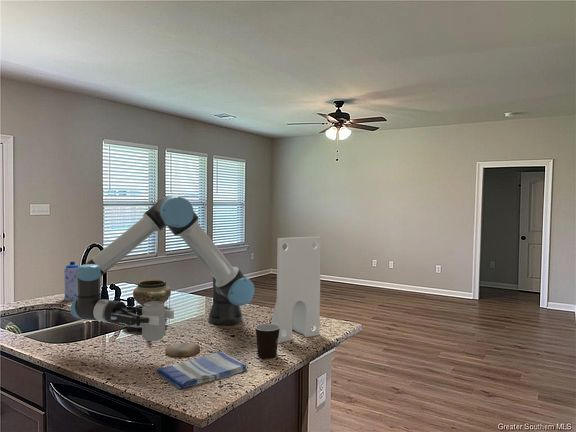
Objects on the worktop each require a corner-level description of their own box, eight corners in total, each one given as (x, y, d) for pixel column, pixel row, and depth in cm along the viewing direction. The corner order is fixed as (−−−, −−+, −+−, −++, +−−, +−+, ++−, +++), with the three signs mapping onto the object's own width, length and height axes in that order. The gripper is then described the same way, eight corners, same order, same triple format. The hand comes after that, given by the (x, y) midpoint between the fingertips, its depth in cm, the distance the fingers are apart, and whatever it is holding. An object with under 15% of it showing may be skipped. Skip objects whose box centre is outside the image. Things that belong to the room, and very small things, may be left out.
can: (144, 343, 137) (143, 306, 137) (140, 336, 144) (140, 301, 143) (167, 339, 141) (167, 304, 140) (163, 333, 147) (162, 299, 147)
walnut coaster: (199, 344, 158) (199, 341, 158) (201, 355, 147) (201, 352, 147) (165, 346, 155) (165, 343, 155) (165, 358, 144) (165, 355, 144)
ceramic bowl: (133, 309, 218) (125, 281, 216) (166, 297, 227) (159, 270, 224) (144, 321, 197) (135, 291, 195) (180, 307, 206) (172, 278, 204)
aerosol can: (70, 296, 231) (70, 260, 231) (83, 297, 230) (83, 261, 230) (60, 300, 223) (60, 262, 223) (75, 300, 223) (74, 263, 222)
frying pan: (165, 319, 191) (165, 311, 191) (175, 341, 161) (175, 332, 161) (122, 323, 184) (122, 315, 184) (125, 347, 154) (125, 337, 154)
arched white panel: (299, 325, 184) (301, 234, 183) (319, 334, 172) (321, 236, 171) (259, 332, 173) (260, 235, 172) (277, 342, 161) (278, 238, 160)
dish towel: (249, 372, 135) (249, 363, 134) (180, 393, 119) (181, 383, 119) (220, 356, 148) (220, 348, 148) (155, 373, 132) (155, 364, 132)
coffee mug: (270, 361, 142) (270, 332, 142) (249, 356, 146) (250, 328, 146) (288, 351, 152) (289, 324, 151) (268, 347, 156) (269, 320, 156)
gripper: (131, 314, 158) (183, 320, 150) (88, 330, 139) (146, 338, 131) (130, 294, 157) (183, 299, 150) (88, 307, 138) (145, 314, 131)
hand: (165, 317), depth 140 cm, fingers closed on can, 7 cm apart
